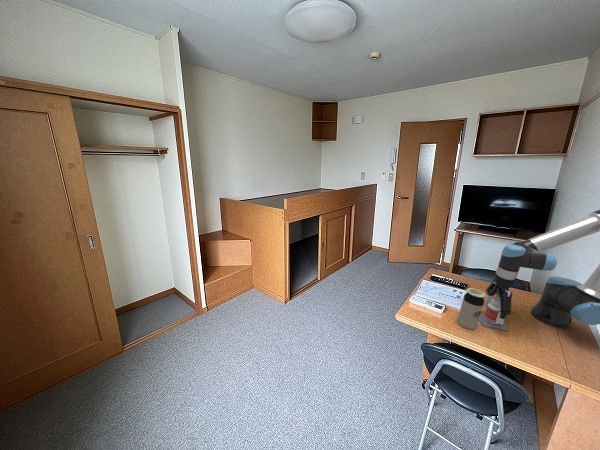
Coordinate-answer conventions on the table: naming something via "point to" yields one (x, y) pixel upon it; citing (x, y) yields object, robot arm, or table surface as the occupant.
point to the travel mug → (471, 308)
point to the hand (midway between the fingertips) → (492, 314)
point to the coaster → (494, 326)
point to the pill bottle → (492, 311)
